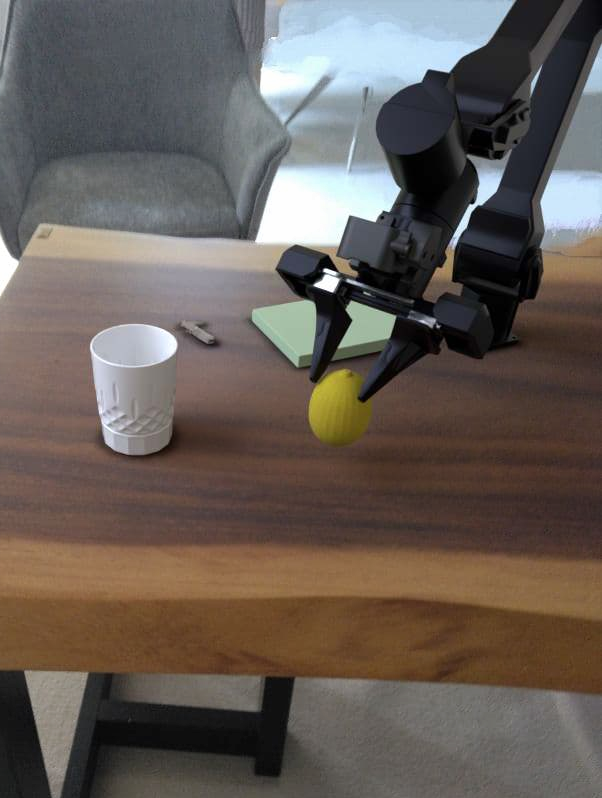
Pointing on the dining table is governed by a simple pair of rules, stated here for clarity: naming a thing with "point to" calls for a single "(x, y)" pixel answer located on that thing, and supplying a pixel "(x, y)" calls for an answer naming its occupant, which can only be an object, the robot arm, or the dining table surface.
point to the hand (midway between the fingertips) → (335, 391)
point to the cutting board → (297, 330)
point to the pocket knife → (197, 331)
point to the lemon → (339, 408)
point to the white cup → (135, 386)
